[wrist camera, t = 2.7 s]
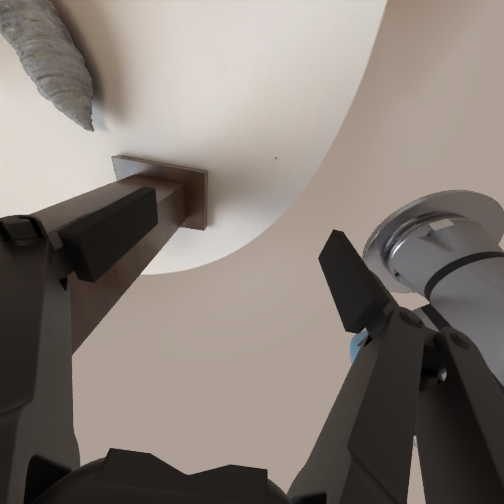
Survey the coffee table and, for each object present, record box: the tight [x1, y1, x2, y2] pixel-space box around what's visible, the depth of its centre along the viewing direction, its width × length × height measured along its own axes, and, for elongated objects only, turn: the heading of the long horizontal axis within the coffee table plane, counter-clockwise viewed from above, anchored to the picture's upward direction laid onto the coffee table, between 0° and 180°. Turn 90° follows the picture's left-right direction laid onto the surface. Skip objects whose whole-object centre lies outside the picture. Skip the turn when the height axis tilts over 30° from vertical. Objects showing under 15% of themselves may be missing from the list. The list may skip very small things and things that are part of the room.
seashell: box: [0, 0, 94, 131], centre depth 21 cm, size 6×14×8 cm, turn 12°
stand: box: [30, 155, 207, 355], centre depth 20 cm, size 14×10×30 cm
